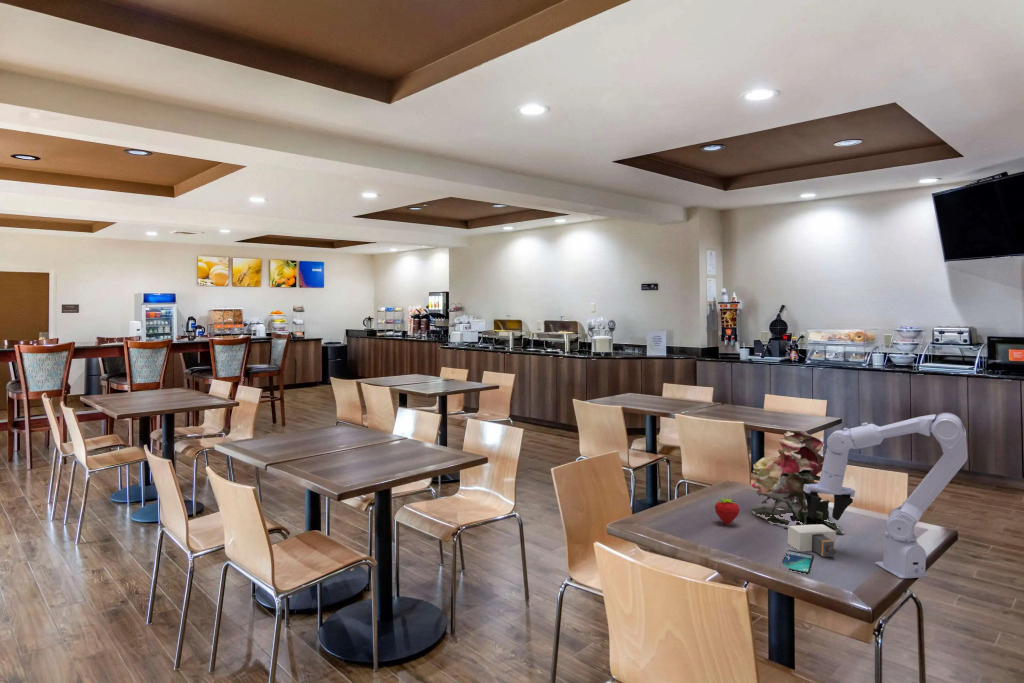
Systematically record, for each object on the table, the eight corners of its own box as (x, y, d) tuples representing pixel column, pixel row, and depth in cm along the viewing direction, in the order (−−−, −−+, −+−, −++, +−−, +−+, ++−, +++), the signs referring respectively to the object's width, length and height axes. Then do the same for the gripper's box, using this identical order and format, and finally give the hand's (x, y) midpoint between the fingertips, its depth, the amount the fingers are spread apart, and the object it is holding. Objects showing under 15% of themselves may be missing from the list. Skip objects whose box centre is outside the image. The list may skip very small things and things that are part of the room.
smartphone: (814, 554, 171) (808, 573, 158) (814, 557, 171) (808, 576, 158) (786, 549, 175) (779, 567, 162) (786, 551, 175) (779, 570, 162)
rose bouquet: (809, 505, 216) (812, 421, 214) (854, 536, 186) (858, 439, 185) (737, 504, 216) (739, 421, 214) (770, 535, 187) (773, 438, 185)
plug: (837, 558, 168) (837, 543, 168) (826, 559, 168) (827, 544, 168) (817, 546, 177) (818, 532, 177) (807, 547, 176) (808, 532, 176)
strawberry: (737, 529, 191) (738, 498, 190) (712, 525, 194) (713, 495, 194) (740, 524, 196) (741, 493, 196) (715, 520, 200) (716, 490, 199)
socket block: (835, 550, 175) (835, 531, 175) (799, 551, 174) (800, 533, 174) (822, 542, 181) (822, 524, 181) (787, 543, 180) (788, 525, 179)
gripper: (847, 469, 176) (837, 513, 178) (801, 465, 174) (791, 509, 176) (863, 478, 169) (853, 524, 171) (815, 474, 167) (806, 520, 169)
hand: (823, 517), depth 173 cm, fingers open, 7 cm apart
